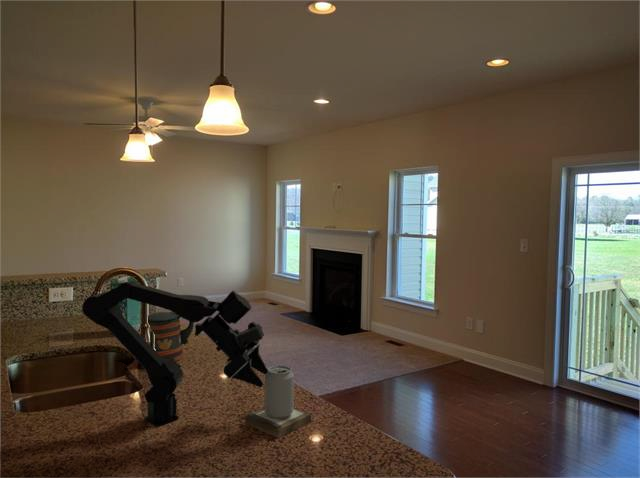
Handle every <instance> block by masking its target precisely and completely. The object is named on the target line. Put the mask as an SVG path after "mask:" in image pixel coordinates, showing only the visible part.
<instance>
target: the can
mask: <svg viewBox="0 0 640 478" xmlns="http://www.w3.org/2000/svg"><path fill="white" fill-rule="evenodd" d="M267 370H268V372H267V373H266V374H264V408H265V413H266V414H267V415H268V416H269V417H271V418H275V419H282V418H286V417H288V416H290V414H291V413H292V412H293V408H294V400H295V399H294V397H295V395H294V392H295V390H294V389H295V388H294V387H295V386H294V385H295V378H294V377H295V374H294V373H293V371H292V368H291V367H290V366H288V365H273V366H270V367H267Z"/></svg>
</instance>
